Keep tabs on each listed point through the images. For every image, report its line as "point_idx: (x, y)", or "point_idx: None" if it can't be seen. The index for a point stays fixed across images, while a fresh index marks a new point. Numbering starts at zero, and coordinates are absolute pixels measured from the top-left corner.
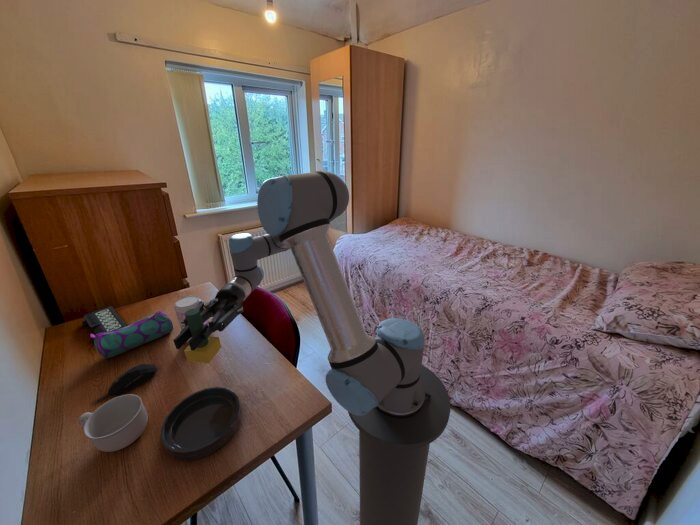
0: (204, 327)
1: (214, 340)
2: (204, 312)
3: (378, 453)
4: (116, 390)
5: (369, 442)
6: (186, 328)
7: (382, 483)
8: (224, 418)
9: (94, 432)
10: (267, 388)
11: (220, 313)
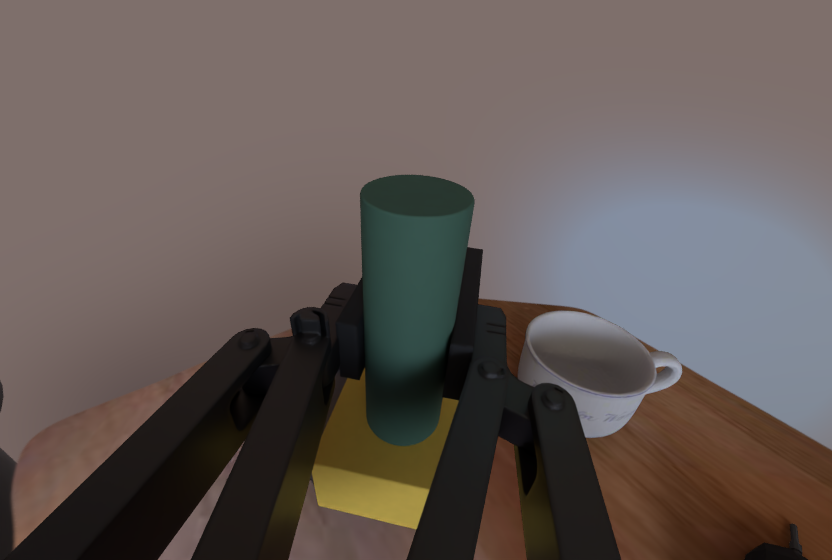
0: (349, 301)
1: (332, 430)
2: (433, 519)
3: (7, 456)
4: (773, 549)
5: (1, 468)
6: (469, 305)
7: None
8: (331, 413)
9: (616, 364)
10: (182, 527)
11: (228, 479)
